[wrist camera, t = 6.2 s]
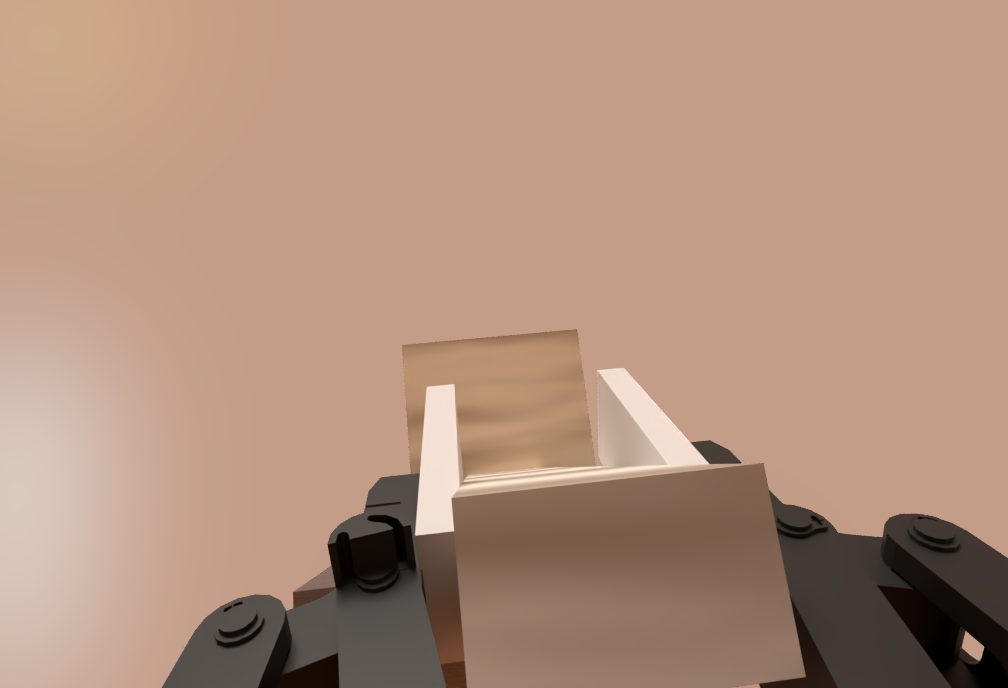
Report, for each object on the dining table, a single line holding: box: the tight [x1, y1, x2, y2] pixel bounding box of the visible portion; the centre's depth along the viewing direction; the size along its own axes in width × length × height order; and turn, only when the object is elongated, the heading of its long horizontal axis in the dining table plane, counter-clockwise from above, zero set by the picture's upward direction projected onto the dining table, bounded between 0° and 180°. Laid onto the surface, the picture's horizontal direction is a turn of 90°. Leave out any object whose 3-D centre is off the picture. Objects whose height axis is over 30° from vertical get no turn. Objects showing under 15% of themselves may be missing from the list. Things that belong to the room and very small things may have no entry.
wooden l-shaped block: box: [402, 330, 806, 688], centre depth 23 cm, size 32×10×10 cm, turn 3°
